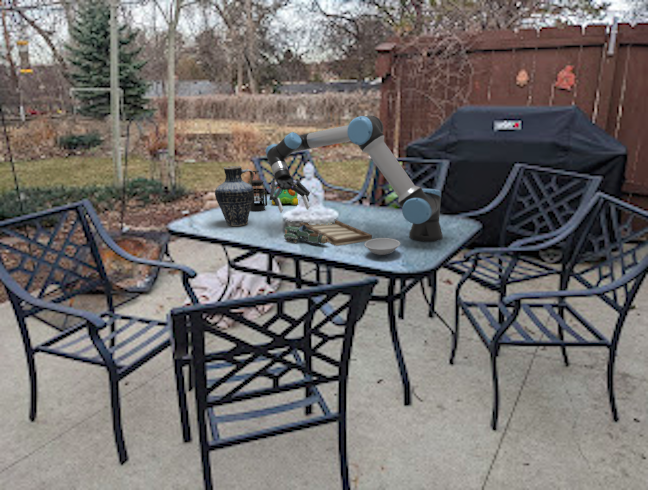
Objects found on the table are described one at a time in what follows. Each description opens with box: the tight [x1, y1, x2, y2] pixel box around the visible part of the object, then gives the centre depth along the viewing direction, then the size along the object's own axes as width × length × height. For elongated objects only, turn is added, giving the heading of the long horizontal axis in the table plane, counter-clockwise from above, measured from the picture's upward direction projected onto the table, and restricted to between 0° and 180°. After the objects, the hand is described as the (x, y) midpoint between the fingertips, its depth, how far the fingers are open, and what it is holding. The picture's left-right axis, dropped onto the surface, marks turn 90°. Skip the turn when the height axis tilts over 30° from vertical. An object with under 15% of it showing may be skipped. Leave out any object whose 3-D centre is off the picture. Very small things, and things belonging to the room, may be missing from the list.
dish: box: [363, 237, 401, 256], centre depth 208 cm, size 18×14×5 cm
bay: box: [299, 219, 373, 247], centre depth 241 cm, size 37×19×2 cm, turn 28°
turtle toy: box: [271, 186, 299, 206], centre depth 310 cm, size 17×23×12 cm
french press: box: [247, 170, 268, 213], centre depth 289 cm, size 12×9×23 cm
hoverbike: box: [283, 224, 329, 246], centre depth 225 cm, size 10×25×8 cm, turn 53°
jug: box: [214, 165, 255, 227], centre depth 255 cm, size 21×19×30 cm
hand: (295, 209), depth 231 cm, fingers open, 13 cm apart
